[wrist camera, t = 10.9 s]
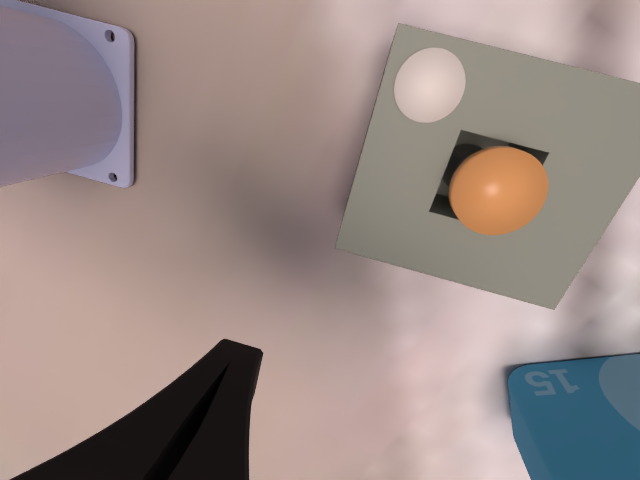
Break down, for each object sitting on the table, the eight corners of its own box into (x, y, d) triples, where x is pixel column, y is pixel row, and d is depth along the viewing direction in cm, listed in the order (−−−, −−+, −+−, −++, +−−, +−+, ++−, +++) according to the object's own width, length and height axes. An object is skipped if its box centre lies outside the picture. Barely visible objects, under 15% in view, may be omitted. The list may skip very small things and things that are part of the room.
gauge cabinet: (344, 211, 18) (334, 250, 14) (391, 45, 15) (398, 21, 10) (508, 256, 18) (556, 312, 13) (592, 96, 15) (697, 95, 10)
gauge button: (421, 188, 15) (439, 222, 11) (444, 126, 14) (473, 138, 10) (481, 204, 15) (521, 244, 11) (509, 143, 14) (566, 162, 10)
